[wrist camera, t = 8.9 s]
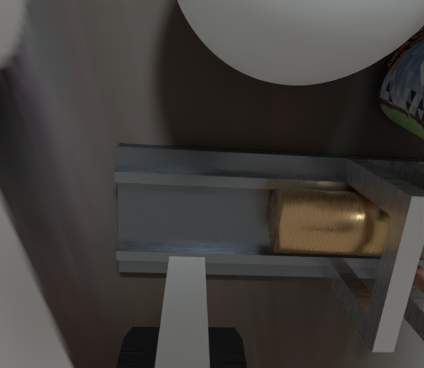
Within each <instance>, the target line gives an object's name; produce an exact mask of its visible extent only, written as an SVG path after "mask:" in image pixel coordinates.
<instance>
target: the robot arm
mask: <svg viewBox="0 0 424 368" xmlns="http://www.w3.org/2000/svg"><path fill="white" fill-rule="evenodd" d="M116 368H247V365H246V359H245V354H244V347H243V341H242V338H241V337H240V335H239V334H238V332H237V331H236V329H235V328H219V327H208V316H207V294H206V272H205V257H178V256H169V262H168V270H167V278H166V285H165V293H164V300H163V308H162V315H161V323H160V327H132V328H131V330H130V331H129V332H128V333H127V335H126V336H125V337H124V339H123V343H122V347H121V351H120V355H119V359H118V364H117V367H116Z"/></svg>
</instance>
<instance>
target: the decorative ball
mask: <svg viewBox="0 0 424 368" xmlns="http://www.w3.org/2000/svg"><path fill="white" fill-rule="evenodd" d="M177 1H178V4H179V6H180V8H181V10H182V12H183V14H184V16H185V18H186V19H187V21H188V23H189V24H190V26H191V27H192V29H193V30H194V32H195V33H196V34H197V36H198V37H199V38H200V39H201V41H202V42H203V43H204V44H205V45H206V46H207V47H208V48H209V49H210V50H211V51H212V52H213V53H214V54H215V55H216V56H217V57H219V58H220V59H221V60H222V61H224V62H225V63H227V64H228V65H229V66H231V67H233V68H234V69H236V70H238V71H240V72H242V73H244V74H246V75H248V76H250V77H253V78H256V79H259V80H262V81H266V82H270V83H275V84H282V85H312V84H319V83H325V82H329V81H333V80H337V79H340V78H343V77H346V76H348V75H351V74H353V73H356V72H358V71H360V70H362V69H365V68H366V67H368V66H370V65H372V64H374V63H376V62H377V61H379V60H380V59H382V58H384V57H385V56H387V55H388V54H390V53H391V52H393V51H394V50H396V49H397V48H399V47H400V46H401V45H402V44H404V43H405V42H406V41H407V40H408V39H409V38H410V37H412V36H413V35H414V34H415V33H416V32H418V31H419V30H420V29H421V28H422V27H423V26H424V0H177Z"/></svg>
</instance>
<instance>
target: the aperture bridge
mask: <svg viewBox="0 0 424 368" xmlns="http://www.w3.org/2000/svg"><path fill="white" fill-rule="evenodd" d="M413 283H414V284H415V285H416V286H417V287H418V288H419V289H420V290H421V291H422V292H423V293H424V269H423V268H417V270H416V273H415V277H414V280H413Z"/></svg>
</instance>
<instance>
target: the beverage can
mask: <svg viewBox="0 0 424 368" xmlns="http://www.w3.org/2000/svg"><path fill="white" fill-rule="evenodd" d="M378 99H379V103H380V106H381V109H382V110H383V112H384V114H385V115H386V116H387V117H388V118H389V119H390V120H391V121H393V122H394V123H396V124H398V125H399V126H401V127H403V128H404V129H406V130H408V131H410V132H411V133H413V134H415V135H417V136H418V137H420V138H422V139H424V30H423V31H420V32H418V33H416V34H414V35H413V36H412V37H410V38H409V39H408V40H407V41H406V42H405V43H404V44H402V45H401V46H400V47H399V48H397V49H396V50H394V51H393V53H392V54H391V55H390V57H389V58H388V60H387V61H386V63H385V65H384V67H383V69H382V72H381V75H380V78H379V83H378Z"/></svg>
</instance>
